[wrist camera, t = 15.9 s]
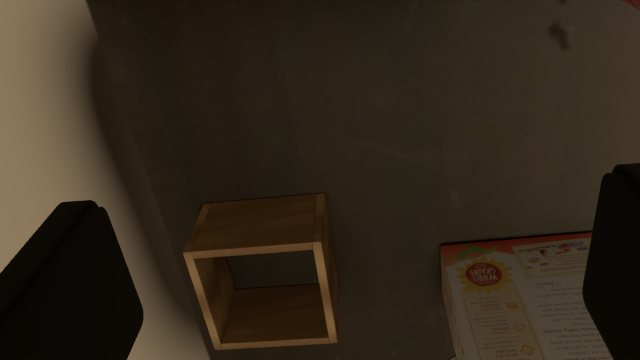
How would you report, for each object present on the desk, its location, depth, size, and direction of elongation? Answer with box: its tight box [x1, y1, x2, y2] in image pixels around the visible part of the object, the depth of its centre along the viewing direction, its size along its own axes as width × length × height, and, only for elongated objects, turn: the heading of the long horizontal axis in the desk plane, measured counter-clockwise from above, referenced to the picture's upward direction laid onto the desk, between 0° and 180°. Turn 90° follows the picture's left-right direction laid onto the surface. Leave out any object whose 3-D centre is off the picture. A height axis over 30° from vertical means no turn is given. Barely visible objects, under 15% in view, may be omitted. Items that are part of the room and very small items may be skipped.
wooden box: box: [183, 193, 339, 350], centre depth 47 cm, size 11×11×7 cm
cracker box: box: [440, 232, 613, 360], centre depth 41 cm, size 14×6×21 cm, turn 98°
